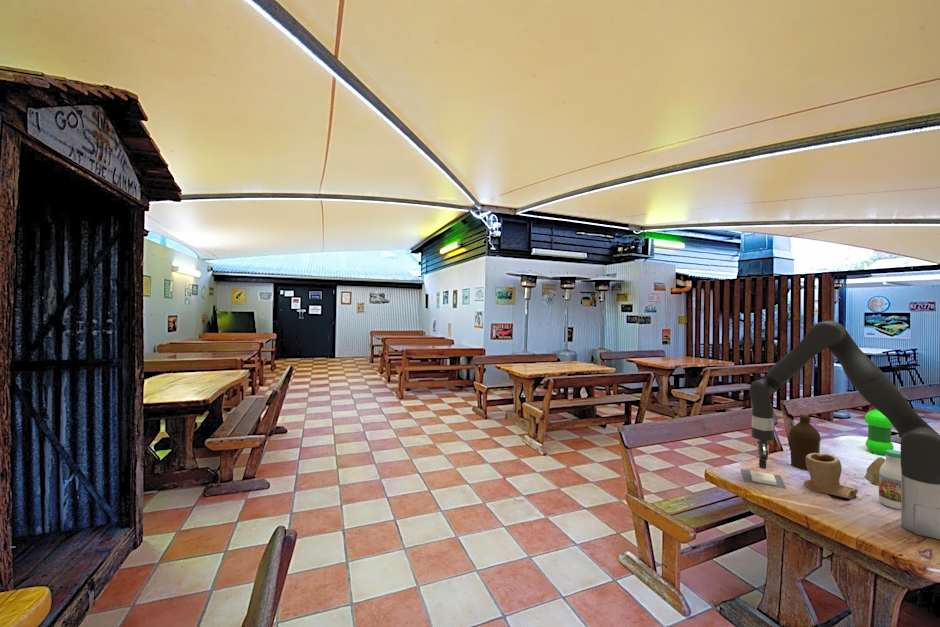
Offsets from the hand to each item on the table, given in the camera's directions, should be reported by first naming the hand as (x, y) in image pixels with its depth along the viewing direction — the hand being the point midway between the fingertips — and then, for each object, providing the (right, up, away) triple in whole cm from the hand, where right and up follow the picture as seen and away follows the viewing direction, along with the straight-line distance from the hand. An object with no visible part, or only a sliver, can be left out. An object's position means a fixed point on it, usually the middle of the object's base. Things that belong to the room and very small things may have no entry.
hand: (762, 467), depth 160 cm
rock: (+47, -6, +1) cm, 48 cm away
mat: (+1, -6, +1) cm, 6 cm away
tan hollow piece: (+19, -6, -10) cm, 22 cm away
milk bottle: (+34, -6, -19) cm, 40 cm away
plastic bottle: (+82, -5, +30) cm, 87 cm away
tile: (+2, -4, +3) cm, 5 cm away
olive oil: (+28, -6, +12) cm, 31 cm away
